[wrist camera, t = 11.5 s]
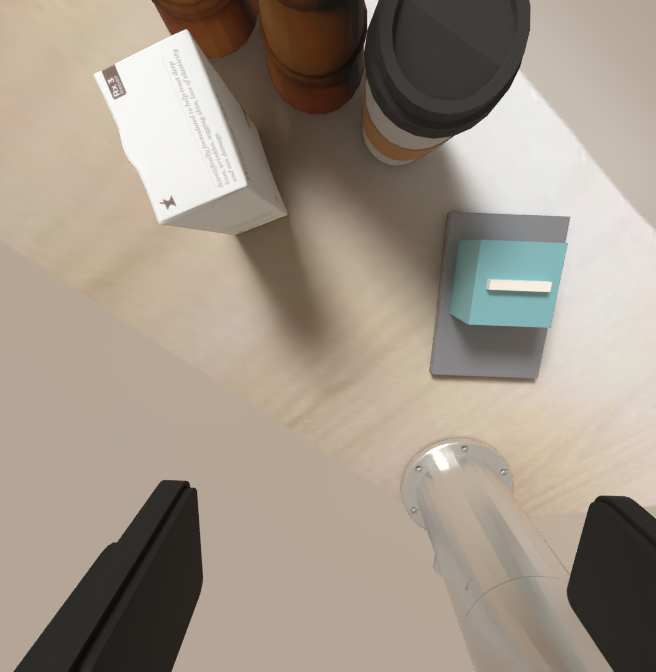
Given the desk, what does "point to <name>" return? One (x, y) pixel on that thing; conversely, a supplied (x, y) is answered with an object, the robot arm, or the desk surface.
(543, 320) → the teal box
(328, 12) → the binoculars
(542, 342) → the board
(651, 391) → the desk surface
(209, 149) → the skincare box
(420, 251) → the desk surface
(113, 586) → the robot arm
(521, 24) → the coffee cup
